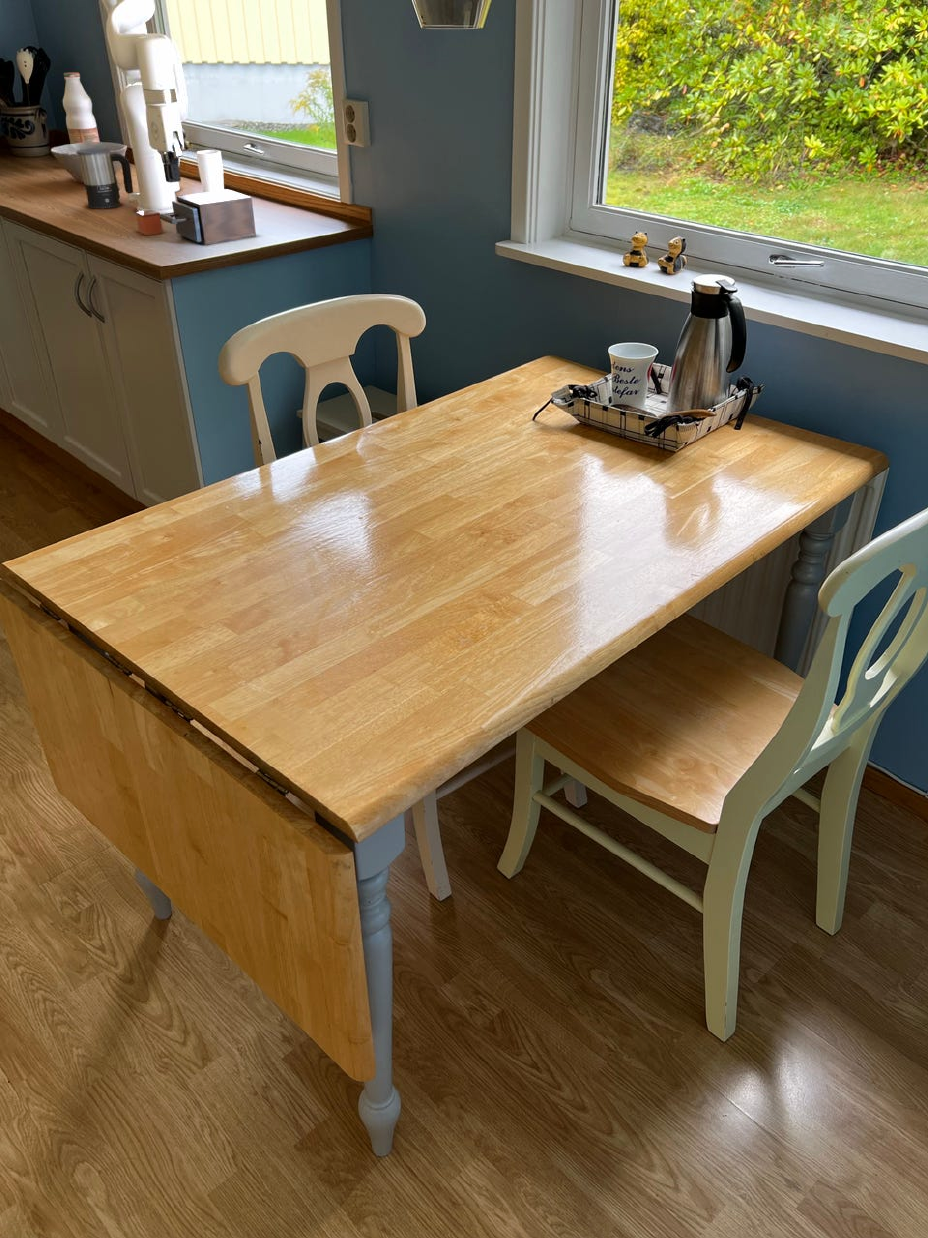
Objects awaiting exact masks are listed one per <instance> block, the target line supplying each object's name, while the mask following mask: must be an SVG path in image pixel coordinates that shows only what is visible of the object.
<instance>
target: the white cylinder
mask: <svg viewBox="0 0 928 1238" xmlns="http://www.w3.org/2000/svg"><path fill="white" fill-rule="evenodd" d="M196 161H197V168H198V173H199V177H200V181H201V186H202V191H203V193H205V192H212V191H219V190H225V181H224V180H225V179H224V165H223V164H224V163H223V156H222V151H220V150H217V149H205V150H199V151H197V152H196Z"/></svg>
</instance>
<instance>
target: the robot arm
mask: <svg viewBox="0 0 928 1238" xmlns="http://www.w3.org/2000/svg"><path fill="white" fill-rule="evenodd" d="M101 2H102V4H103V5H104V8H105V10H106V12H107V14H108V16H107V19H106V24H105V25H106V26H105V28H106V29H105V30H106V37H107V43H108V46H109V49H110V53H111V57H112V59H113V62H114V65H116V67H117V68H118V69H120V70H121V73H122V74H123V75H124V76H125V77H126V78H128V79H140V82H142V84H136V85H133V84H131V85H130V86H128V85H127V86H125V87H124V88H123V89H122V90H121V92H120V94H119V100H120V106H121V109H122V112H123V117H124V119H125V122H126V126H127V130H128V134H129V140H130V145H131V150H132V156H133V162H134V168H135V173H136V174H135V175H136V180H137V184H138V191H139V192H137V193H134V192H133V193H130V194H128V200H129V202H132V203H133V202H136V203H137V205H136V212H139V211H146V210H154V211H157V212H159V213H160V214H165V215H168V214H174V211H173V205H172V201H177V198H176V192H174V185H173V182H181V181H182V179H181V173H180V172H181V171H180V163H179V158H180V159H181V158H182V151H183V150H184V148H185V142H184V141H185V140H184V133H183V127H182V128H181V126H182V123H183V122H186V121H187V120H188V117H189V115H190V114H189V113H190V112H189V111H190V110H189V102H188V101H189V100H188V96H187V88H186V82H185V77H184V71H183V67H182V61H181V56H180V52H179V48H178V46H177V44H176V42H175V41H174V40H173V39H172V38H170V37H168V36H167V35H165V34H163V33H158V32H157V33H156V32H155V33H153V32H152V33H150V32H149V33H148V31H147V26H146V22H148V21H149V20H150V19H151V18H152V17H153V15H154V13H155V6H156V5H155V1H154V0H101ZM180 122H181V123H180ZM172 149H173V150H172ZM178 164H179V165H178Z"/></svg>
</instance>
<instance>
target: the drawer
mask: <svg viewBox="0 0 928 1238" xmlns="http://www.w3.org/2000/svg"><path fill="white" fill-rule="evenodd" d="M172 205H173V211H174V213H169V214H160V216H159V217H160V219H161V221H163V222H166V223H169V224H171V225H173V226H175V231H176V234H177V235H180V236H182V237H185V238H187V239H189V240H191V241H193V242H196V243H199V242H201V241H202V240H201V237H202V238H203V235H202V228H201V221H200V214H199V207H196V206H193V205H190V204H188V203H185V202H183V203H180V202H178V201H177V200H176V201H172Z"/></svg>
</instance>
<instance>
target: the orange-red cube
mask: <svg viewBox="0 0 928 1238" xmlns="http://www.w3.org/2000/svg"><path fill="white" fill-rule="evenodd" d="M134 214H135V218H136V224H137V230H138V233H140V234H143V235H145V236H151V235H157V234H163V226H162V220H161V219H160V217H159V216H160V213H159V212H157V211H154V210H146V211H139V212H138V211H135V212H134Z"/></svg>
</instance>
